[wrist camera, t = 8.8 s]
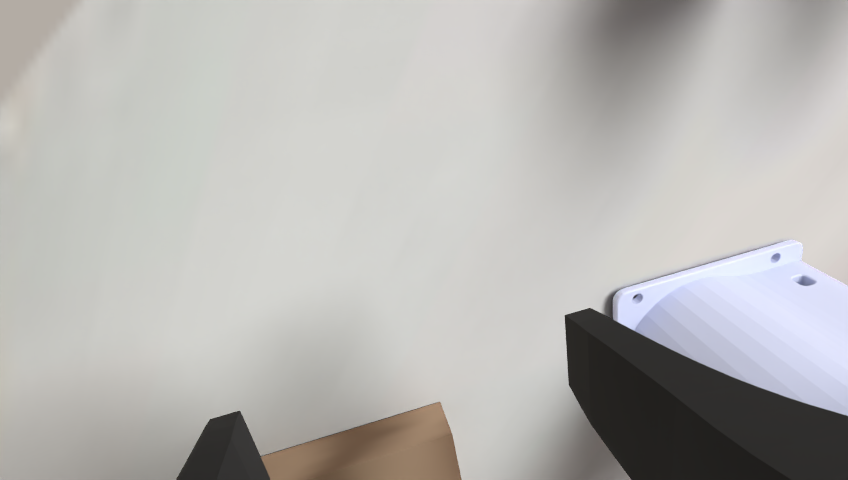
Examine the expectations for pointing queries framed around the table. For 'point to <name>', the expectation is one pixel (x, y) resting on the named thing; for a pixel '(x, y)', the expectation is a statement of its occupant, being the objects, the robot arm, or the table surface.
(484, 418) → the table surface
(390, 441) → the walnut base
